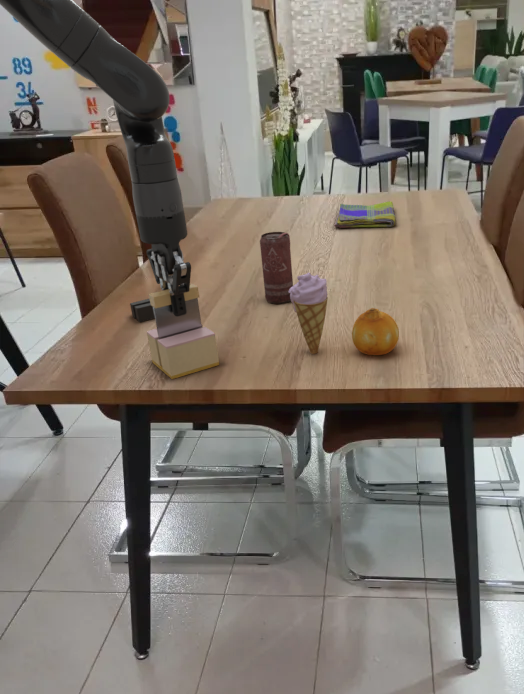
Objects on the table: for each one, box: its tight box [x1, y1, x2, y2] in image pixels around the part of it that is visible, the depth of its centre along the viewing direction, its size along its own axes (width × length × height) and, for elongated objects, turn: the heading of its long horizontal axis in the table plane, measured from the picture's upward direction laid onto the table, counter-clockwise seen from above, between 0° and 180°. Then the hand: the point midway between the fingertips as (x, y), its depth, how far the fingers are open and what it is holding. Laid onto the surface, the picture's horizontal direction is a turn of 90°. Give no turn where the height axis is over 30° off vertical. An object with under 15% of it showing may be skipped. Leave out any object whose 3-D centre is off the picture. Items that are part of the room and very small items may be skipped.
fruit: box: [351, 307, 400, 356], centre depth 121 cm, size 8×8×8 cm
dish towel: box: [334, 201, 396, 229], centre depth 206 cm, size 18×24×3 cm
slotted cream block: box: [146, 325, 220, 380], centre depth 121 cm, size 9×9×6 cm
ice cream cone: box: [288, 271, 328, 355], centre depth 120 cm, size 7×6×15 cm
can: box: [259, 231, 294, 305], centre depth 146 cm, size 6×6×14 cm
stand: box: [129, 298, 155, 323], centre depth 145 cm, size 9×4×3 cm, turn 123°
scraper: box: [148, 283, 203, 339], centre depth 118 cm, size 8×2×9 cm, turn 123°
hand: (176, 312), depth 118 cm, fingers closed on scraper, 2 cm apart
